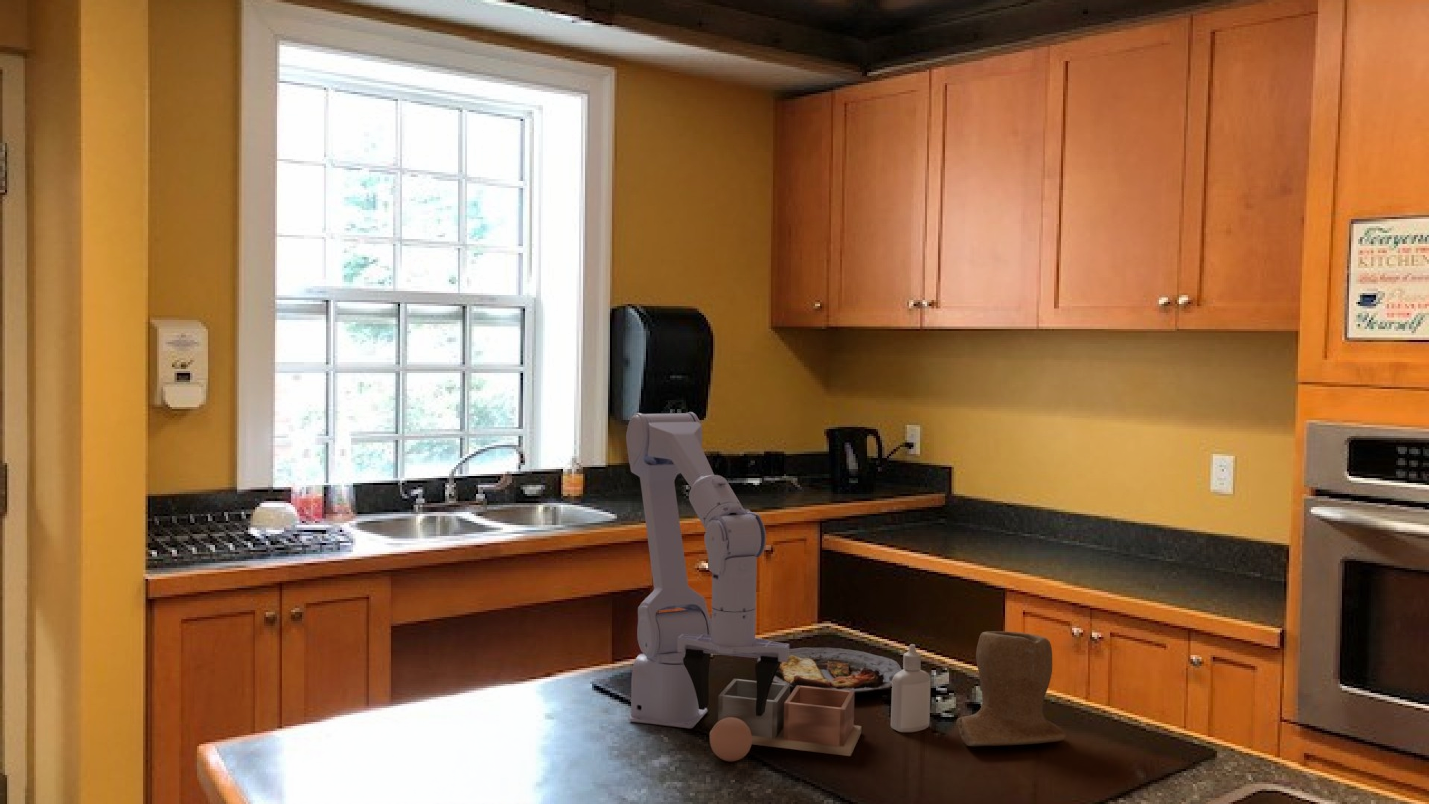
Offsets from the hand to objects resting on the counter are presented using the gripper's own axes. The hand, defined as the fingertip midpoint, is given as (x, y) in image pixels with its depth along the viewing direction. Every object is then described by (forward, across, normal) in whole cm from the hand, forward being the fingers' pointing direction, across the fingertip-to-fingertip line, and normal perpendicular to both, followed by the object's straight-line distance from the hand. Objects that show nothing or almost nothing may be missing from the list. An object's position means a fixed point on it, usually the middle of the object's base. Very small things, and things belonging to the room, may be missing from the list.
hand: (731, 710), depth 149 cm
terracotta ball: (+4, 0, 0) cm, 4 cm away
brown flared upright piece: (+7, +34, +20) cm, 40 cm away
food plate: (+7, +6, +39) cm, 40 cm away
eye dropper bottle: (+7, +21, +20) cm, 30 cm away
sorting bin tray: (+6, +5, +11) cm, 14 cm away
